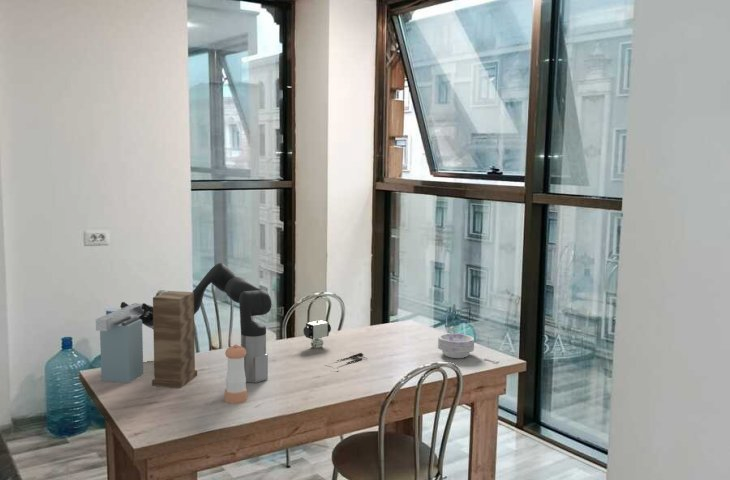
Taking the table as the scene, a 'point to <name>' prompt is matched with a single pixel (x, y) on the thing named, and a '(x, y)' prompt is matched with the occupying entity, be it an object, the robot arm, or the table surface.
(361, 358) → the hacksaw
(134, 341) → the blue grey angular block
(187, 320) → the tall stand
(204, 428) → the table surface
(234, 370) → the pepper shaker
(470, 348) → the grey stone bowl
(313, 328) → the pneumatic valve
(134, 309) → the steel bar
